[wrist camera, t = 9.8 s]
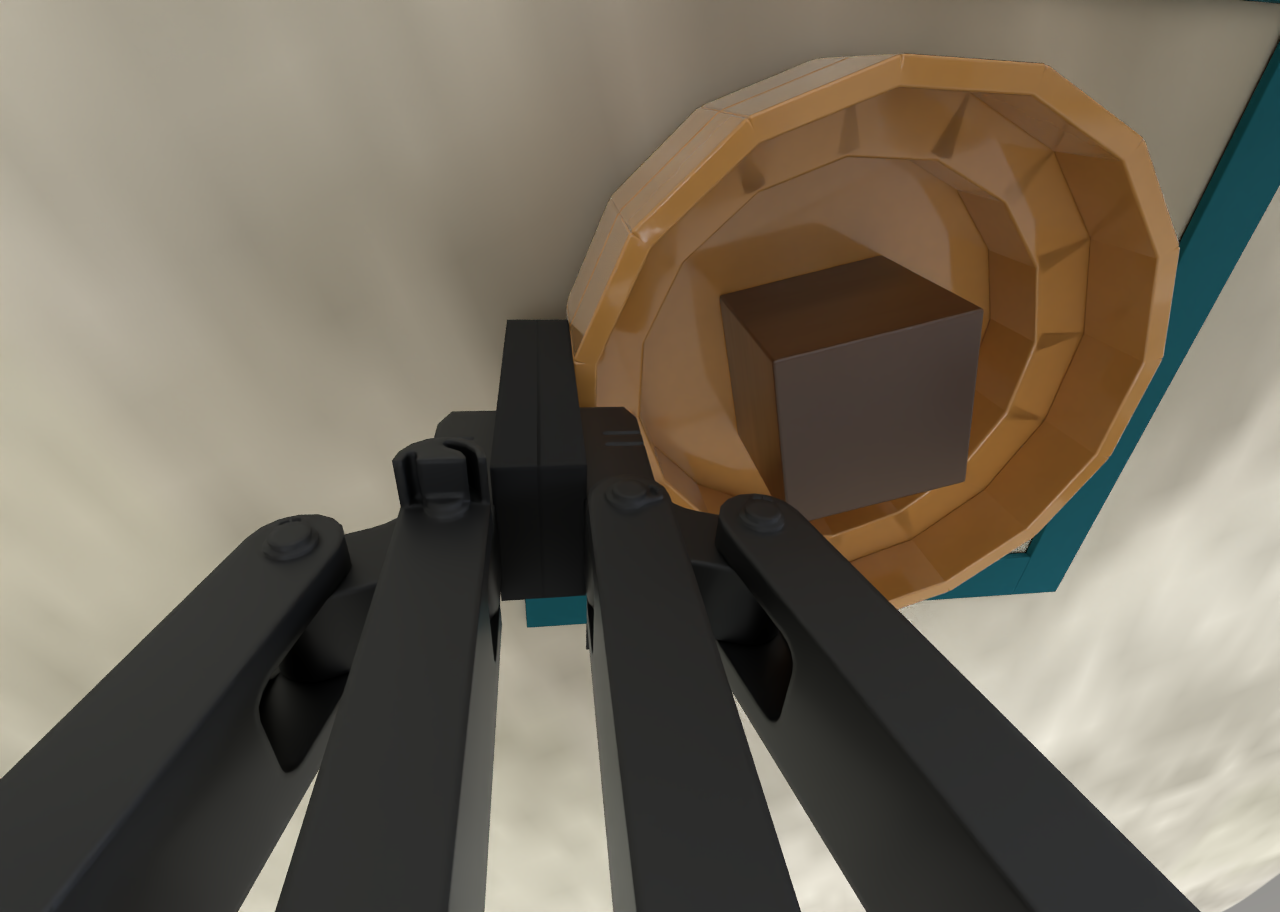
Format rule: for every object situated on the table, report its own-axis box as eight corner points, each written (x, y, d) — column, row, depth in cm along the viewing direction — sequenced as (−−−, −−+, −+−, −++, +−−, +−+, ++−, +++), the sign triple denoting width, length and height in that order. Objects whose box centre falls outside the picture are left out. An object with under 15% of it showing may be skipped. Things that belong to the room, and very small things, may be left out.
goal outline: (472, -210, 11) (471, -217, 11) (1420, -94, 14) (1436, -98, 14) (527, 621, 22) (527, 627, 22) (1050, 586, 26) (1055, 591, 25)
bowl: (562, 41, 13) (571, 29, 10) (1122, 80, 15) (1311, 82, 12) (568, 540, 21) (574, 644, 17) (947, 521, 23) (1028, 611, 19)
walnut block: (718, 294, 16) (772, 361, 12) (882, 253, 16) (985, 308, 13) (737, 436, 19) (787, 527, 15) (880, 400, 19) (966, 482, 15)
